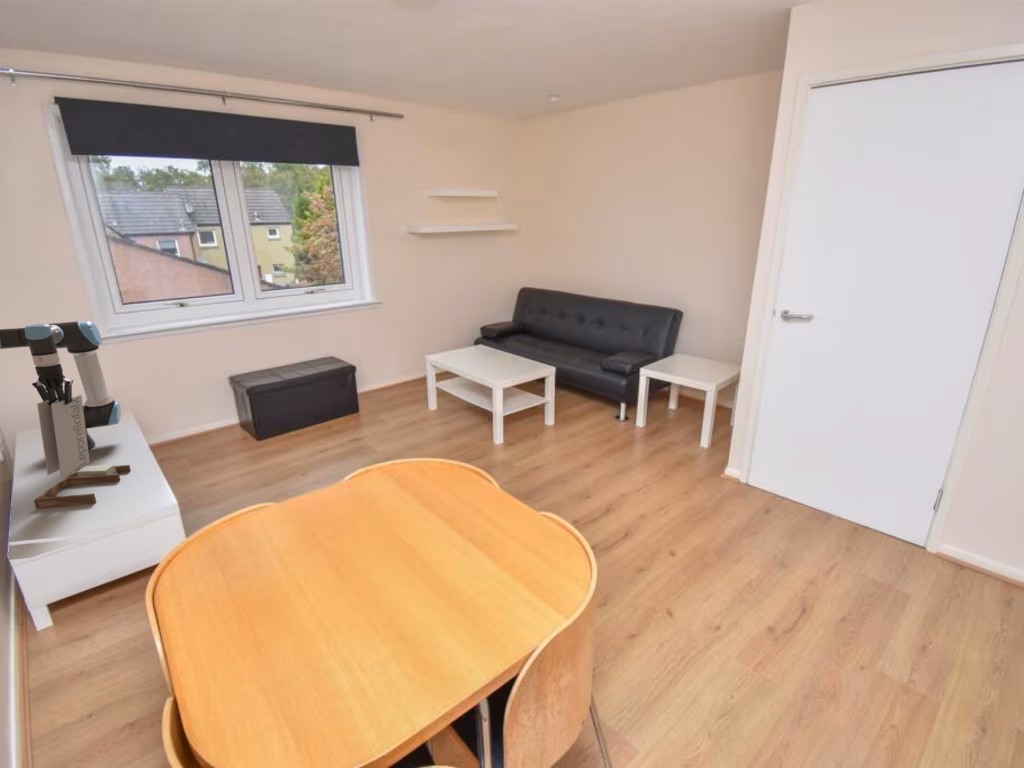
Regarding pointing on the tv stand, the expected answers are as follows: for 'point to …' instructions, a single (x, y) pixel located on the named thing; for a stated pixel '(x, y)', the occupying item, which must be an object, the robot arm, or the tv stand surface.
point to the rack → (49, 496)
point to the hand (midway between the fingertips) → (63, 421)
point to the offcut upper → (96, 470)
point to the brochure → (63, 435)
